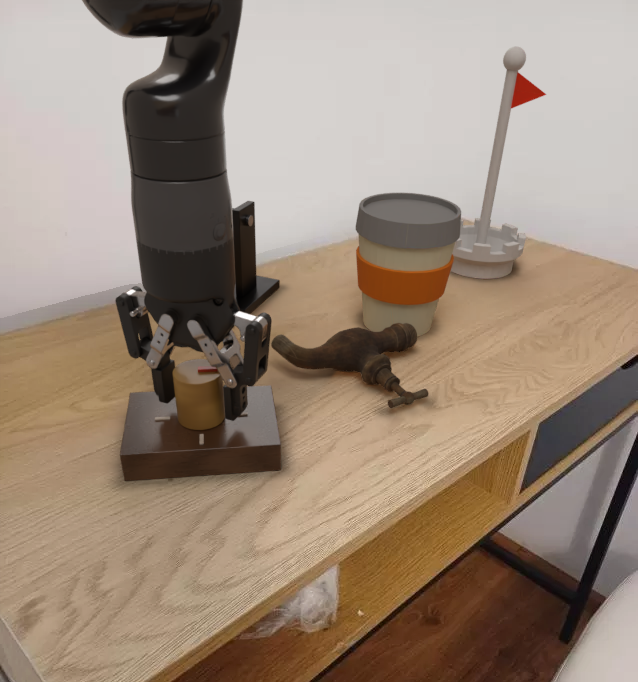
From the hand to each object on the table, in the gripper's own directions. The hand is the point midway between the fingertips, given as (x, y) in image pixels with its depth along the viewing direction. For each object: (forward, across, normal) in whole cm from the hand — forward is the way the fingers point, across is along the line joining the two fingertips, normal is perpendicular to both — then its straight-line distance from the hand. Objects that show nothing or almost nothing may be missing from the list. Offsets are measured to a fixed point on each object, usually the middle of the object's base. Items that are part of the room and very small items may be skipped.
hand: (200, 406), depth 60 cm
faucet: (+4, -11, -18) cm, 22 cm away
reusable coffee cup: (+4, -10, -33) cm, 35 cm away
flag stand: (+4, -16, -58) cm, 60 cm away
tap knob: (+1, 0, 0) cm, 1 cm away
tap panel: (+4, 0, 0) cm, 4 cm away
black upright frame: (+4, +13, -31) cm, 34 cm away
